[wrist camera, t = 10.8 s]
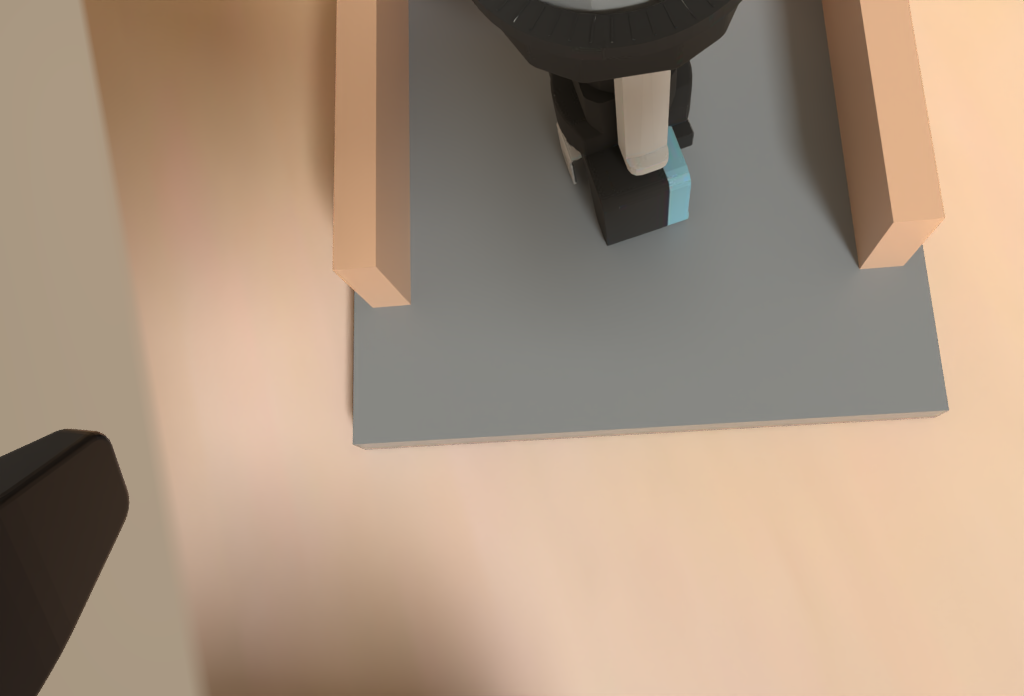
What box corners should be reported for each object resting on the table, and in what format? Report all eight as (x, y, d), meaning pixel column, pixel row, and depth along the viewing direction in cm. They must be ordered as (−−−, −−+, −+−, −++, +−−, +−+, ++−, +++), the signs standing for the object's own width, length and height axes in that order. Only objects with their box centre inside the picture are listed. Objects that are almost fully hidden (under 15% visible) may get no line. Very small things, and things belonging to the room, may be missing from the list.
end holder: (934, 417, 21) (1000, 384, 17) (365, 449, 23) (307, 426, 19) (847, -144, 25) (884, -274, 21) (368, -76, 26) (321, -184, 23)
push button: (483, 60, 24) (371, -285, 14) (671, -8, 23) (689, -408, 14) (557, 280, 22) (487, 58, 12) (762, 210, 21) (856, -73, 12)
